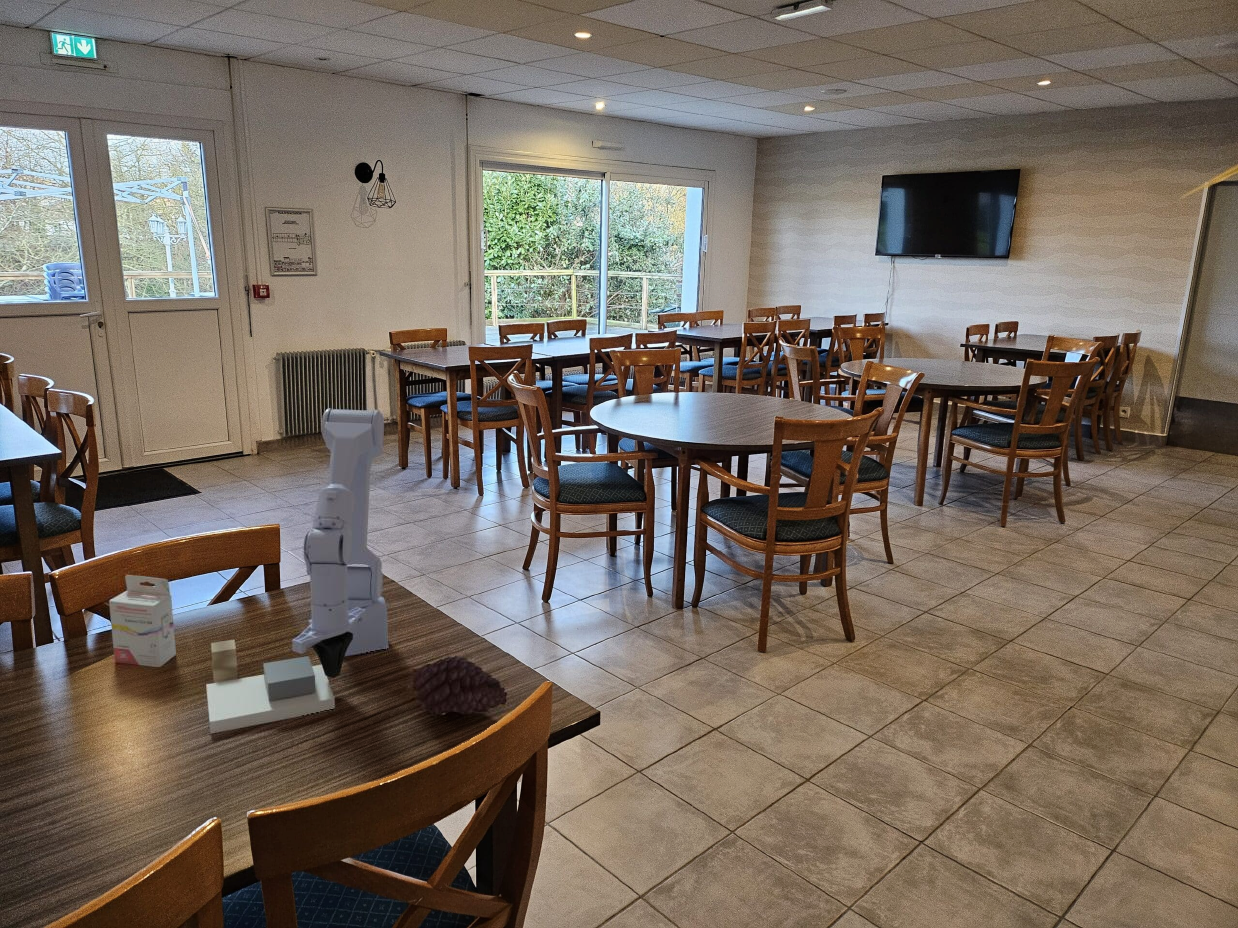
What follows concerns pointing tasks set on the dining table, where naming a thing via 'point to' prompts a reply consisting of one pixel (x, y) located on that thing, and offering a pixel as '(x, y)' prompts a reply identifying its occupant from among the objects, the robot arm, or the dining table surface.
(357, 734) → the dining table surface
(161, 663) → the ink cartridge box
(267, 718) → the socket plate
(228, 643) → the maple peg
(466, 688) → the pine cone
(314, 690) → the grey cover
